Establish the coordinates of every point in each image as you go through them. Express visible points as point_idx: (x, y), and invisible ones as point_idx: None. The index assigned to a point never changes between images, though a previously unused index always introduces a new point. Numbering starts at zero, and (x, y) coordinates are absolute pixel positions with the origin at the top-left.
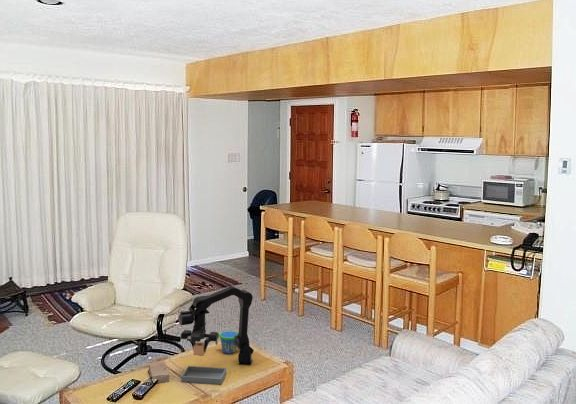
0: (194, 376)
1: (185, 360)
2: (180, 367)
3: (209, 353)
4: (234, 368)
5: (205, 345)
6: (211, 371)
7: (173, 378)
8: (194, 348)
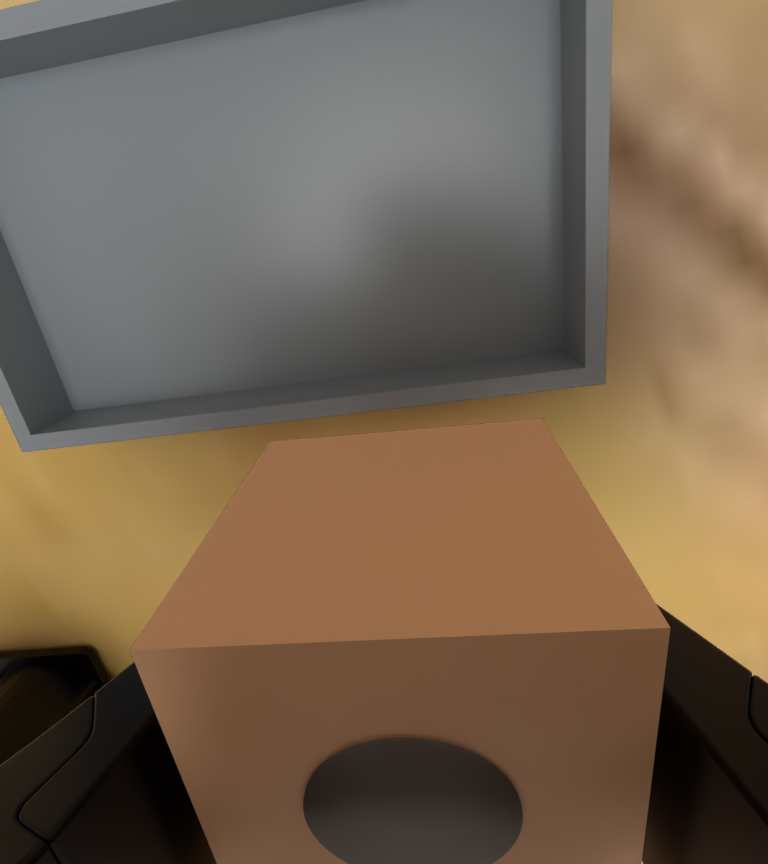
0: (418, 191)
1: (708, 619)
2: (728, 441)
3: None
4: (80, 565)
5: (84, 742)
6: (241, 393)
7: (756, 44)
8: (567, 533)
